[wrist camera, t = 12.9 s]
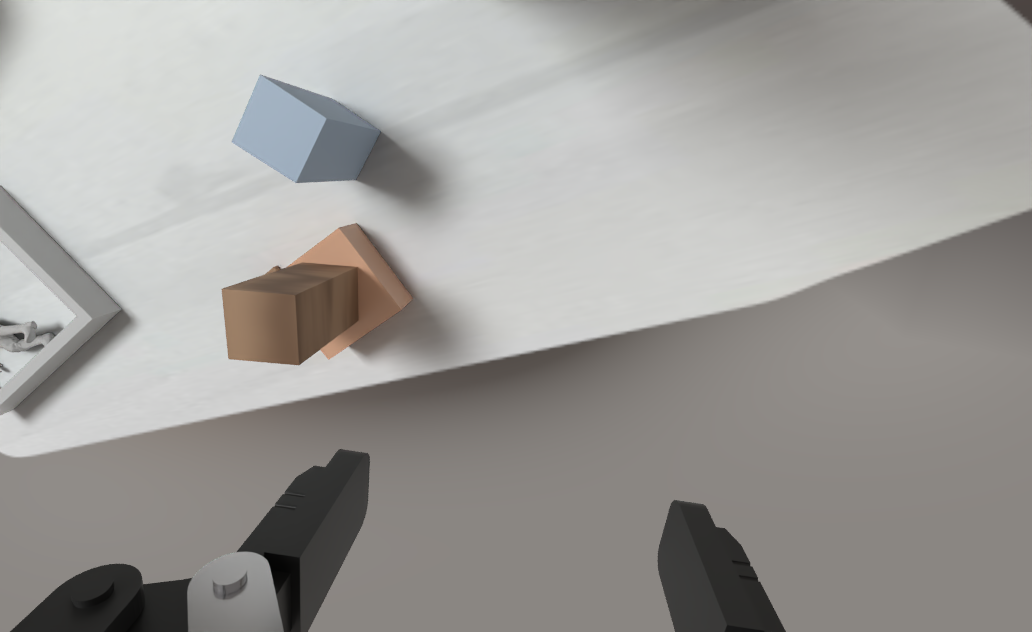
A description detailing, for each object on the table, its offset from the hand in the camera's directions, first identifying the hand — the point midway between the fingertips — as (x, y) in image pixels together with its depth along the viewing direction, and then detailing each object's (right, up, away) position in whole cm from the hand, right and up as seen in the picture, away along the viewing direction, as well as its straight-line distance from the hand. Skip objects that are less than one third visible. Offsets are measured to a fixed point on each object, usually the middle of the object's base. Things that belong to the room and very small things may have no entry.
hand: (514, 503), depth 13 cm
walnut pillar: (-15, +7, +26) cm, 31 cm away
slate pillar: (-14, +19, +26) cm, 35 cm away
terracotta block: (-15, +8, +30) cm, 35 cm away
